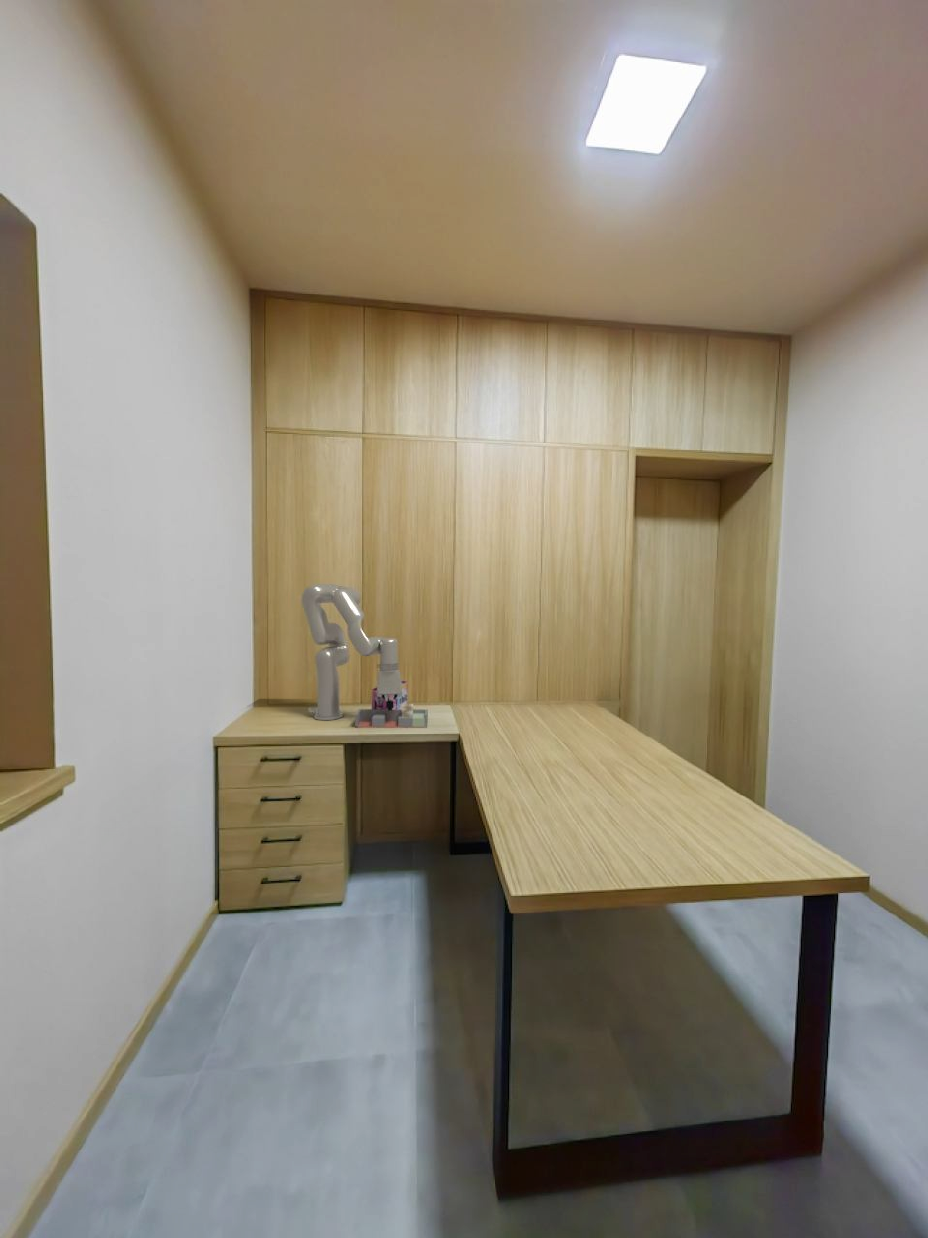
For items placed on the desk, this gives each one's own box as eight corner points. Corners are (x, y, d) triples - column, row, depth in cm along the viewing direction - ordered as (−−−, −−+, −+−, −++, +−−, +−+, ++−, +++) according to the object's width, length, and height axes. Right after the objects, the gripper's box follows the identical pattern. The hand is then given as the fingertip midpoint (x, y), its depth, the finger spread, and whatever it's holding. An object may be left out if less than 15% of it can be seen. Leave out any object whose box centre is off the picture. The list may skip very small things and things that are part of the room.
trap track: (355, 727, 205) (355, 714, 204) (359, 721, 214) (359, 709, 213) (426, 727, 206) (427, 714, 206) (427, 721, 215) (427, 709, 215)
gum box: (385, 721, 215) (385, 691, 214) (369, 719, 217) (369, 689, 216) (407, 708, 238) (408, 681, 237) (393, 707, 240) (393, 680, 239)
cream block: (401, 716, 208) (401, 706, 207) (402, 714, 212) (402, 703, 212) (412, 716, 208) (412, 706, 207) (413, 714, 212) (413, 703, 212)
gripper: (370, 668, 204) (371, 712, 205) (406, 668, 205) (406, 711, 206) (372, 666, 212) (373, 708, 213) (407, 665, 212) (408, 707, 213)
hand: (390, 709), depth 209 cm, fingers closed
